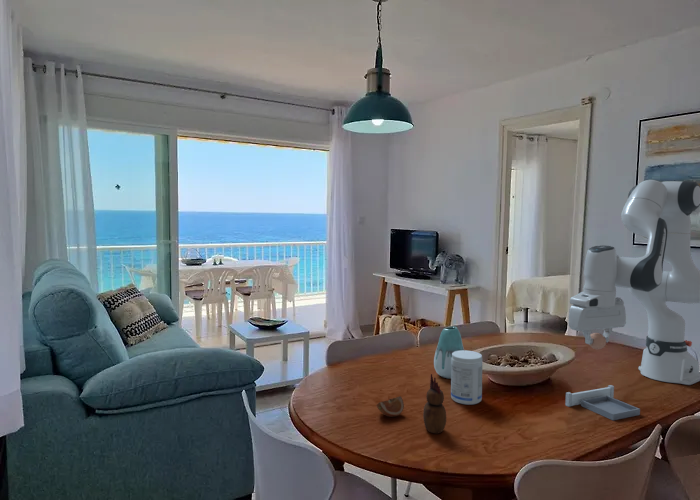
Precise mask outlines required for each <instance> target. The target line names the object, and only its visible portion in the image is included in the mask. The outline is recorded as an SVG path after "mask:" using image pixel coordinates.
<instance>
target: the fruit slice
mask: <svg viewBox="0 0 700 500" xmlns="http://www.w3.org/2000/svg"><path fill="white" fill-rule="evenodd" d="M376 407H377V409H378V410H379V412H381V414H383V415H384V416H386V417H389V418H395V417H399V415H401V414H402V413H403V411H404V410H405V409H404V408H405V404H404V400H403V398H402V396H401V395H400V396H397V397H393V398H389V399H388V400H384V401H380V402H378V403H377V404H376Z"/></svg>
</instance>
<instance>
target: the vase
mask: <svg viewBox="0 0 700 500" xmlns="http://www.w3.org/2000/svg"><path fill="white" fill-rule="evenodd" d="M437 342H438V343H437V346H436V349H435V353H434V357H433V367H434V370H435V372H436V374H437V375H439V376H440V377H442V378H446V379H450V380H451V359H452V353H453V352H455V351H460V350H465V347H464V345H463V339H462V335H461V332H460V330H459V328H458V327H457V326H447V327H444V328H443V329H442V331H441V332H440V336H439V338H438V341H437Z"/></svg>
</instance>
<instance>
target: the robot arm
mask: <svg viewBox="0 0 700 500" xmlns="http://www.w3.org/2000/svg"><path fill="white" fill-rule="evenodd" d="M628 192H629V193H628V196H627V199H626V202H625V204H624V206H623V208H622V211H621V214H620V219H621V223H622V224H623V226H624V227H625V228H626V229H627V230H628V231H629V232H631V233H632V234H635V235H638V236H641V237H644V238H647V245H646V250H645V254H644V255H643V256H639V257H633V256H620V255H619V254H617V252H616V251H617V250H616V247H614V246H611V245H595V246H592V247H589V248H588V249H587V252H586V255H585V259H584V268H583V269H584V270H583V275H584V284H583V289H582V290H583V291H581V292H579V293H577V294H575V295H573V296H571V297H570V298H569V303H570V304H571V305H570V307H569V311H568V327H569V328H570V330H572V331H576V332H582V335H583V337H584V343H585V344H587V345H589V344H593V340H594V339H593V338H591V334H593V333H592V331H595V330H603V333H602V335H603V336H604V337H605V339H606V343H609V340H610V339H609V338H610V336H611V335H612V332H613V329H617V328H624V327H625V326H626V323H627V321H626V320H627V316H626V315H627V314H626V307H625V305H624V304H625V302H624V300H623V299H622V298H621V297H617V296H616V295H617V288H624V289H625V288H626V289H628V291H629V292H630V294H631V295H632V296H633V297H635V299H637V300H638V301H639V302H640V303H641V305H642V306H643V308H644V310H645V312H646V316H647V336H646V338H645V346H646V347H645V348H644V349H643V352H642V358H641V363H640V365H639V366H638V369H637V370H639V371H640V374H641V375H642V376H645V377H647V378H649V379H651V380H655V381H659V382H665V383H673V384H682V385H686V386H691V385H693V384H696V383H698V382H700V363H699V360H698V359H696V358H695V357H694V356H693V355H692V354H691V353H690V352H689V351H688V347H689V348H690V347H692V345H693V342H692V341H691V340H686V339H685V332H686V321H685V319H684V318H683V316H682V315H680V313H678V312H676V311H674V310H672V309H670V308H669V307H668V305H667V302H671V303H678V304H679V303H681V304H689V305H691V304H700V270H699V268H698V267H697V266H696V264H695V262H694V260H693V258H692V252H691V251H692V250H691V237H692V236H691V235H692V234H691V233H692V222H691V214H692V213H693V212H695V211H696V210H697V209H698V208H700V184H699V183H697V181H693V180H691V181H690V180H683V181H680V180H672V181H671V180H668V181H659V180H656V179H646V180H643V181H641V182H639V183H638V184H637V185H635V186H633V187H632V188H631V189H630V190H629V191H628ZM664 263H667V264H669V266H670V267H671V270H670V271H669V270H664V269H663V267H664V266H663V265H664Z"/></svg>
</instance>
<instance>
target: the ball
mask: <svg viewBox="0 0 700 500" xmlns="http://www.w3.org/2000/svg"><path fill="white" fill-rule="evenodd" d="M590 335H591V338H593V339H594V340H593V344H588V345H589V347H591V348H592V349H594V350H602V349H603V348H605V346H606V344H607V342H606V339H605V337H604V336H603V333H599V332H593V333H590Z"/></svg>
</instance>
